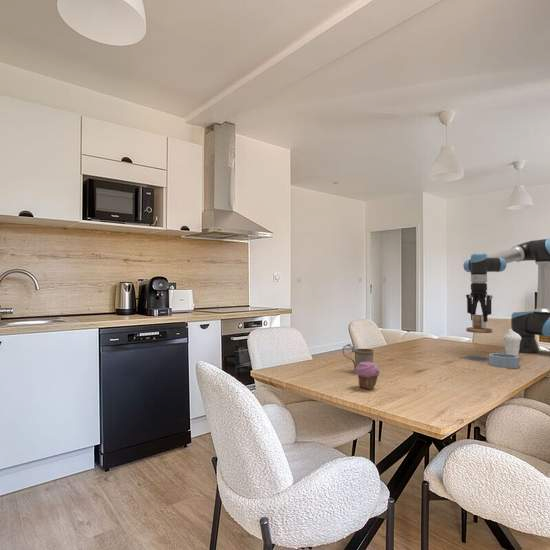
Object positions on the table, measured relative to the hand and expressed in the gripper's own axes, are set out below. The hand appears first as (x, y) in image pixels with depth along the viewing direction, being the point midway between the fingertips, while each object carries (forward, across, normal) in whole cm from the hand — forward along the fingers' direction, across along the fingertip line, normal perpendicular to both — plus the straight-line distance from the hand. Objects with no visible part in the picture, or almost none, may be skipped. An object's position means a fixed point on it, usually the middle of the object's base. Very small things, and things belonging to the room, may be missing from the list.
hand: (479, 327), depth 203 cm
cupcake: (+17, +16, -89) cm, 92 cm away
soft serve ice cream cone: (+17, +7, +16) cm, 24 cm away
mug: (+17, -7, -74) cm, 76 cm away
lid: (+2, 0, 0) cm, 2 cm away
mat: (+17, -1, 0) cm, 17 cm away
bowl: (+17, +15, -4) cm, 23 cm away
